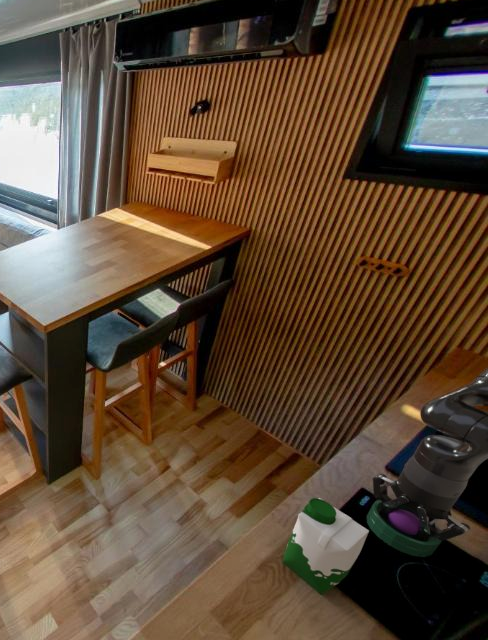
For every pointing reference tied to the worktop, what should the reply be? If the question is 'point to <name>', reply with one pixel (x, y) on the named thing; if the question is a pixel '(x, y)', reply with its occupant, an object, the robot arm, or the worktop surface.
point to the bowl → (399, 534)
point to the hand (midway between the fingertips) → (401, 527)
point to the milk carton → (323, 545)
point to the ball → (404, 521)
